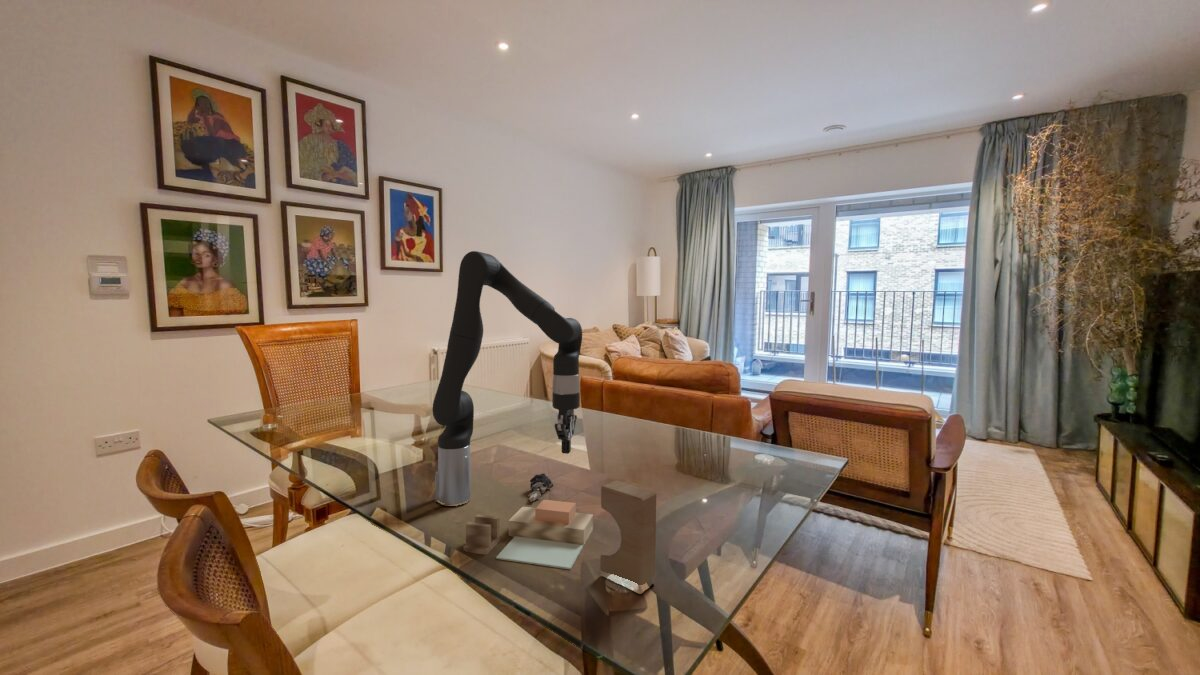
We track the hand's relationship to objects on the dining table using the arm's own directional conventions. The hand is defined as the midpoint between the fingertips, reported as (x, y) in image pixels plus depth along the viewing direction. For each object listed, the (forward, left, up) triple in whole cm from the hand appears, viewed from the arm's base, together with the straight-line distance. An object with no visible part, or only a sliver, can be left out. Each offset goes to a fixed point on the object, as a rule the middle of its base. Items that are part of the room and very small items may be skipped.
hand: (566, 452), depth 128 cm
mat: (0, -19, -19) cm, 27 cm away
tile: (0, -8, -15) cm, 17 cm away
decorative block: (+22, -25, -19) cm, 39 cm away
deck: (-1, -9, -19) cm, 21 cm away
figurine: (-13, +15, -19) cm, 28 cm away
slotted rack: (-15, -19, -19) cm, 31 cm away
